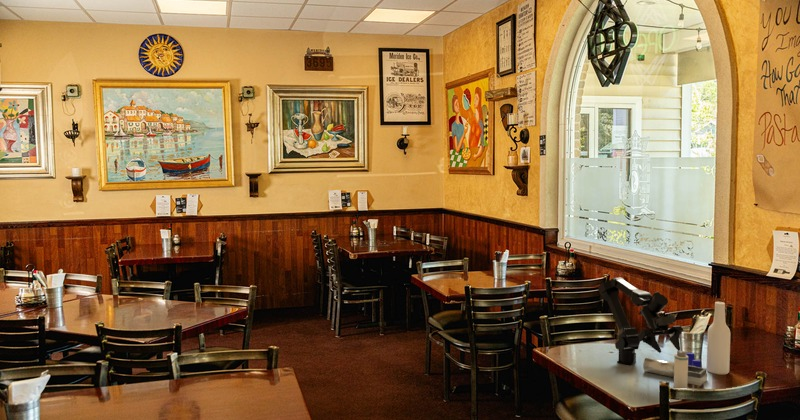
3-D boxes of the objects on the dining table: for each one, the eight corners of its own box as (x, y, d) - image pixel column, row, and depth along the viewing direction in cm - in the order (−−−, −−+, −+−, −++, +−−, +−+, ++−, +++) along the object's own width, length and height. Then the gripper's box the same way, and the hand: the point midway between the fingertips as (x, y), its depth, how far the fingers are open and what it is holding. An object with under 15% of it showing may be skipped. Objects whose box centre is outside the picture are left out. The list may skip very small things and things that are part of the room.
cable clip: (682, 365, 292) (682, 352, 292) (693, 366, 292) (693, 353, 291) (689, 374, 281) (689, 360, 280) (700, 375, 280) (700, 361, 279)
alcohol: (727, 376, 278) (730, 305, 275) (705, 372, 282) (707, 303, 280) (730, 370, 285) (732, 301, 283) (707, 367, 290) (710, 299, 287)
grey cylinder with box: (641, 373, 281) (642, 357, 280) (649, 368, 288) (649, 352, 287) (700, 385, 266) (701, 368, 265) (706, 380, 273) (707, 363, 272)
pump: (671, 388, 263) (672, 352, 262) (675, 384, 267) (676, 349, 266) (685, 390, 260) (686, 354, 259) (689, 387, 264) (690, 351, 263)
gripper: (643, 309, 270) (660, 343, 260) (680, 306, 276) (699, 339, 266) (630, 324, 278) (646, 357, 268) (667, 320, 284) (685, 353, 274)
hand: (669, 351), depth 269 cm, fingers open, 9 cm apart
